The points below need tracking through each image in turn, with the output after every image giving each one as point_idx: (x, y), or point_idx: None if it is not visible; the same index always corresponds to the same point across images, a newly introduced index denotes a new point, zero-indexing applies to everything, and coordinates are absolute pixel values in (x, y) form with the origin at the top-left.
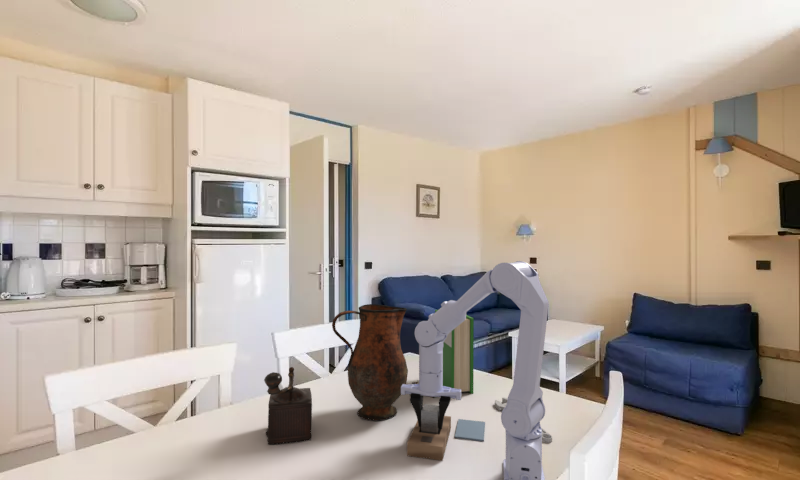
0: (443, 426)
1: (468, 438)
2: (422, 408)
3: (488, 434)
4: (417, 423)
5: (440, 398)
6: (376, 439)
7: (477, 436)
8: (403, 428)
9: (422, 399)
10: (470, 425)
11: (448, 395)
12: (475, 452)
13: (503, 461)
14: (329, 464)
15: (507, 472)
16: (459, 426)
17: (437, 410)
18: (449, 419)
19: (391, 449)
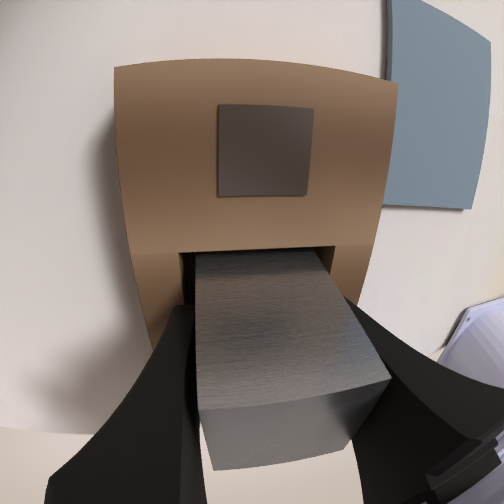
0: (341, 259)
1: (427, 205)
2: (213, 457)
3: (488, 143)
4: (144, 271)
5: (405, 500)
6: (16, 310)
7: (460, 184)
8: (52, 169)
9: (188, 481)
10: (448, 70)
11: (470, 492)
12: (420, 290)
13: (463, 322)
14: (31, 415)
15: (447, 359)
16: (403, 79)
17: (345, 438)
18: (388, 138)
19: (103, 359)
